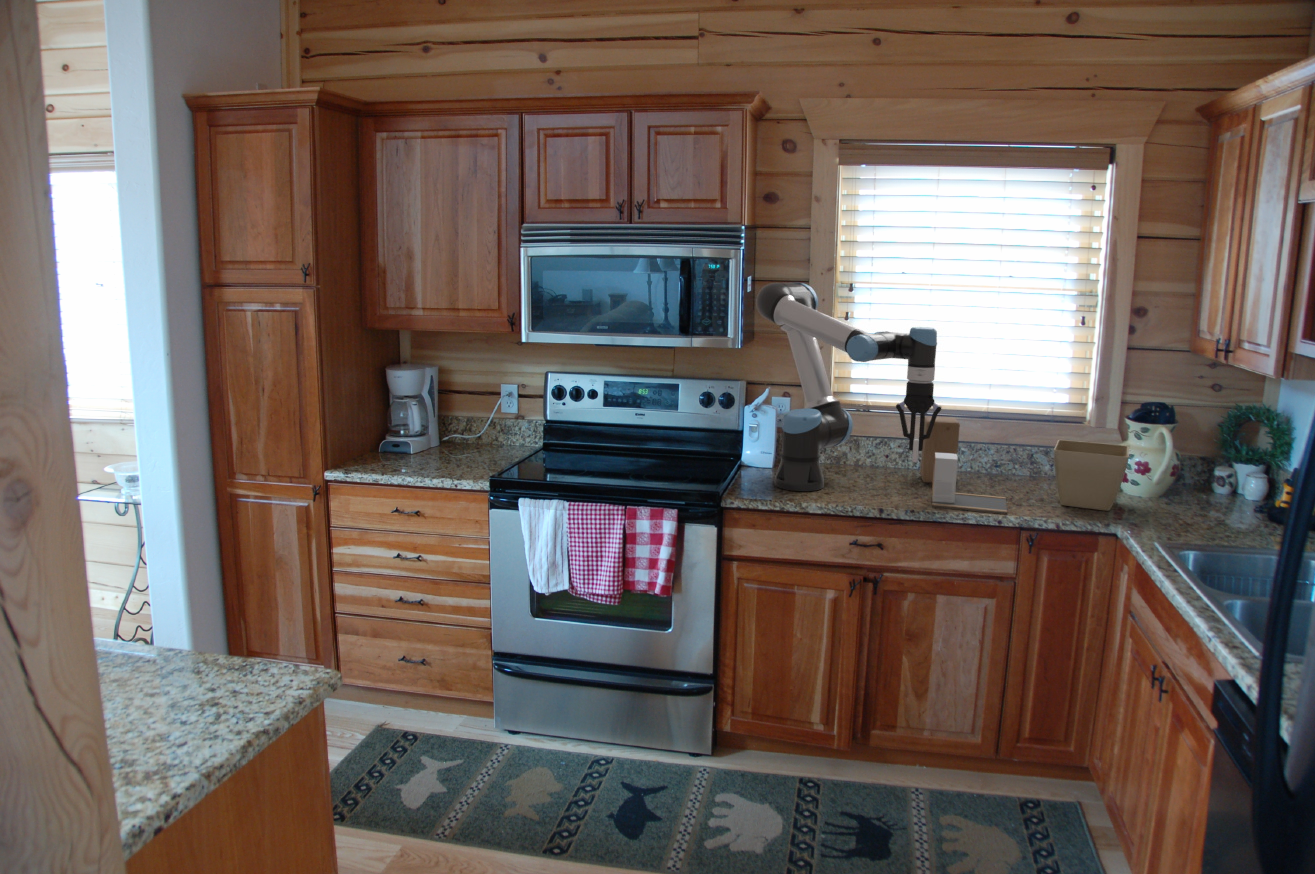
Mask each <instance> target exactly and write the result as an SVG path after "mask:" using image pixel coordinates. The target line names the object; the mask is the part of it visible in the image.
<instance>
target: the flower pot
mask: <svg viewBox="0 0 1315 874" xmlns="http://www.w3.org/2000/svg"><path fill="white" fill-rule="evenodd" d="M1129 449H1130V446H1129V445H1122V444H1114V443H1102V442H1095V441H1094V442H1092V441H1091V442H1090V441H1080V440H1079V441H1078V440H1068V439H1058V440H1057V441H1056V444H1055V446H1054V448H1053V463H1054V474H1055V481H1056V487H1057V493H1058V499H1059V501H1060V505H1062V506H1068V507H1075V508H1082V509H1090V510H1098V511H1108V512H1109V511H1111V509H1112V507H1113V506H1114V503H1115V501H1116V498H1117V497H1118V494H1119V491H1120V489H1121V486H1122V483H1123V480H1124V476H1125V473H1126V470H1127V467H1128V462H1129V460H1130V459H1129V458H1130V454H1129V453H1130V452H1129V451H1130V450H1129Z"/></svg>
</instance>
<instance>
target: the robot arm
mask: <svg viewBox="0 0 1315 874" xmlns="http://www.w3.org/2000/svg"><path fill="white" fill-rule="evenodd" d="M816 293H817V292H816V291H815V290H814V288H812V287H811V286H810V285H809V284H806V283H803V282H798V281H792V282H771V283H768V284H765V285H764V286H763V287H762V288H760V290H759V292H758V294H757V295H756V299H755V306H756V309H757V311H758V313H759V315H760V316H761V317H762V318H763V319H765V320H767V321H769V322H771V323H774V324H776V325H777V326H779V328H780V330H782V331H783V332H785V333H786V334H787V335H786V336H787V338H788V342H789V345H790V349H791V353H792V357H793V360H794V362H795V367H796V370H797V374H798V377H799V381H800V385H801V388H802V391H803V395H804V399H805V403H806V405H805V406H804V407H803V408H796V409H792V410H789V411H787V412H785V414H784V415H783V417H782V424H781V432H782V433H781V457H780V463H779V465H778V468H777V469H776V474H775V476H774V486H775V487H777V488H779V489H782V490H787V491H793V492H815V491H820V490H822V489H824V487H825V479H824V474H823V471H822V467H821V464H820V454H821V452H820V451H821V449H825V448H832V447H833V448H834V447H837V446H839V445H841V444H843V443H845V442H846V441H847V440H848V439H850V436H851V434H852V432H853V427H854V426H853V425H854V423H853V422H854V421H853V419H852V416H851V414H850V413H849V412H848V411H847V410H846V409H844V408H842V404H841V402H840V399H838V398H836V397H835V396H834V395H833V392H832V388H831V385H830V381H829V378H828V375H827V370H826V367H825V363H824V360H823V356H822V353H821V349H820V346H819V341H821V342H823V343H826V344H827V345H829V346H832V347H834V348H836V349H839V350H841V351H842V352H845V353H847V355H848V356H849V358H850V360H852V361H855V362H861V363H867V362H871V361H879V360H886V359H899V360H907V374H906V379H907V380H908V381H907V382H906V389H905V390H906V391H905V397H904V399H903V401H901V402H898V403H897V404H896V405H895V408H896V410H897V411H898V414H899V419H900V424H901V425H900V426H901V429H902V436H903V437H904V438H907V439H909V443H908V444H909V445H908V448H909V449H908V450H909V451H912V457H911V463H918V461H919V452H922V449H923V440H924V439H928V438H930V435H931V432H932V429H933V426H934V423H935V420H936V417H938V414H939V413H940V412H941V411H942V409H943V408H942V406H941V405H938V404H937V403H935V399H934V388H935V387H934V385H935V383H934V380H935V375H936V373H935V372H936V354H937V346H938V338H937V337H938V332H937V329H936V328H934V327H928V326H913V327H911V328H910V330H909V333H908V332H907V333H904V332H903V333H902V332H893V331H892V332H891V331H876V332H875V333H869V332H867V331H864V330H862V329H860V328H858V327H855V326H853V325H850V324H849V323H846V322H843V321H841V320H839V319H837V318H835V317H832V316H830V315H828V314H825V313H823V312H821V311H819V310H817V308H818V307H819V298H818V295H817V294H816ZM906 407H907V409H908V411H909V412H910V425H909V426H910V429H909V430H908V424H907V419H906V412H905V409H906ZM931 409H932V411H933V413H932V418H931V421H930V424H929V427H928V430H927V433H926V434H924V424H925V417H926V414H927V413H928V411H930V410H931ZM917 414H920V415H919V416H920V417H919V429H918V430H919V435H918V438H915V434H916V419H917Z"/></svg>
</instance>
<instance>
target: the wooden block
mask: <svg viewBox="0 0 1315 874" xmlns="http://www.w3.org/2000/svg"><path fill="white" fill-rule="evenodd" d="M931 418H932V416H931V415H930V416H929V415H928V416H925V424H924V434H926V433H927V430H928V427H929V424H930V421H931ZM959 435H960V423H959V420H957V418H955V417H953V416H951V417H950V416H937V417H936V420H935V423H934V426H933V429H932V432H931V435H930V438H928V439H924V440H923V449H922V451H921V456H920V469H919V474H920V477H921V479H922V482H923V483H926V484H933V472H934V457H935V453H952V454H957V455H958V451H959V450H958V449H959V437H960V436H959Z"/></svg>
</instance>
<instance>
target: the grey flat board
mask: <svg viewBox="0 0 1315 874" xmlns="http://www.w3.org/2000/svg"><path fill="white" fill-rule="evenodd" d="M1006 499H1007V497H1005V496H993V495H984V494H982V495H981V494H973V493H962V492H955V503H945V502H933V501H932V504H931V507H932V508H938V509H945V510H946V509H948V510H957V511H959V510H960V511H967V510H968V511H967V512H970V511H971V512H977V513H978V512H979V513H990V514H999V515H1008V505H1007V500H1006Z"/></svg>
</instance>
